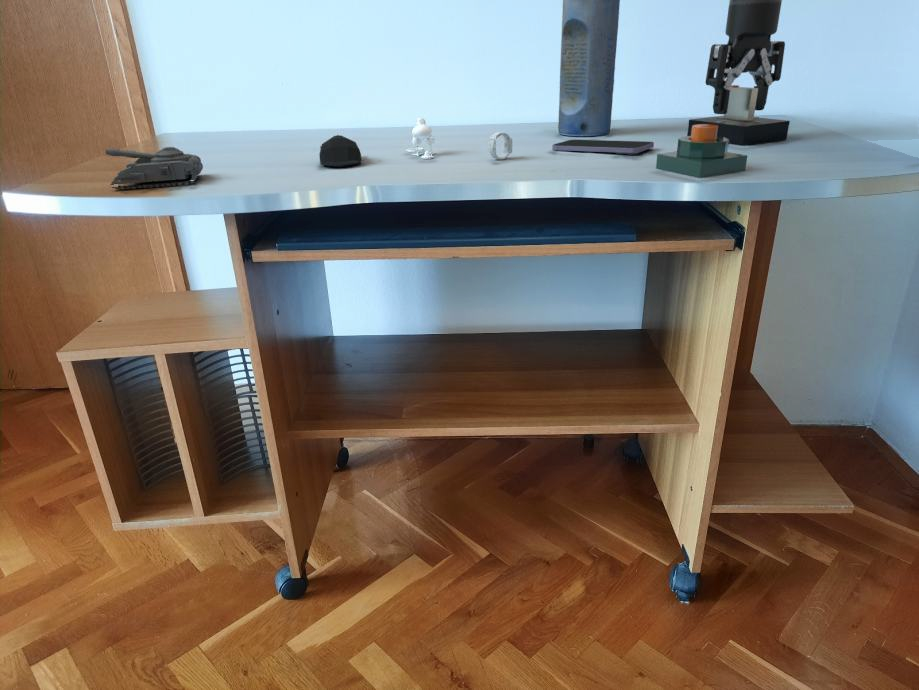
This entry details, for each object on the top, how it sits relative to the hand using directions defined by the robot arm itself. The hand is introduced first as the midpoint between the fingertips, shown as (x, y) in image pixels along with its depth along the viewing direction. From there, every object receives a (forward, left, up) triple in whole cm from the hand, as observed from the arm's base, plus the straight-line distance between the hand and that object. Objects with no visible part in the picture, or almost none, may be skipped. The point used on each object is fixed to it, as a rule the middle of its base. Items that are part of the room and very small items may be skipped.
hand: (738, 112), depth 106 cm
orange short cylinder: (-16, +24, -1) cm, 29 cm away
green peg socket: (-16, +24, -4) cm, 29 cm away
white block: (0, 0, -1) cm, 1 cm away
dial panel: (0, 0, -4) cm, 4 cm away
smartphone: (+5, +24, -4) cm, 25 cm away
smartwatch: (+8, +41, -4) cm, 42 cm away
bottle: (+22, +15, -4) cm, 27 cm away
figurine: (+20, +49, -4) cm, 53 cm away
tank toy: (+22, +89, -4) cm, 92 cm away
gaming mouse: (+23, +62, -4) cm, 66 cm away
